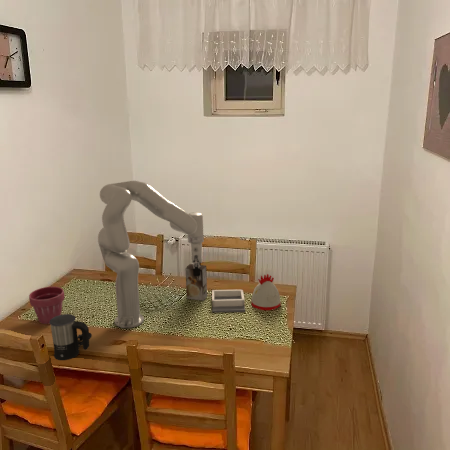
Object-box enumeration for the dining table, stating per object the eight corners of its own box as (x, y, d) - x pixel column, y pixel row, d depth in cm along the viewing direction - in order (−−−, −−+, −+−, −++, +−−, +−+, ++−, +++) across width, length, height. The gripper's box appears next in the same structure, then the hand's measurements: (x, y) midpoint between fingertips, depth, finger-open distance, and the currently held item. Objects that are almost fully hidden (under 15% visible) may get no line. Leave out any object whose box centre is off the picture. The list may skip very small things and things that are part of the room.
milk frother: (52, 362, 166) (48, 326, 162) (55, 341, 180) (51, 308, 176) (92, 356, 169) (89, 321, 165) (92, 336, 184) (89, 303, 180)
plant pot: (36, 330, 189) (32, 302, 186) (29, 317, 201) (26, 291, 197) (70, 321, 197) (67, 294, 194) (62, 309, 208) (59, 283, 205)
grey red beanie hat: (246, 301, 215) (246, 272, 211) (270, 295, 221) (270, 267, 217) (261, 312, 203) (261, 282, 199) (286, 306, 210) (287, 276, 206)
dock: (245, 311, 204) (245, 303, 203) (212, 312, 204) (212, 304, 203) (242, 293, 224) (242, 286, 223) (212, 294, 223) (212, 286, 222)
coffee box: (207, 295, 222) (207, 265, 217) (203, 300, 216) (202, 269, 212) (190, 293, 224) (189, 263, 220) (185, 298, 218) (184, 268, 214)
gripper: (203, 244, 204) (204, 278, 209) (203, 232, 220) (205, 265, 225) (186, 244, 204) (188, 279, 209) (188, 233, 220) (190, 265, 225)
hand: (197, 271), depth 217 cm, fingers open, 9 cm apart
